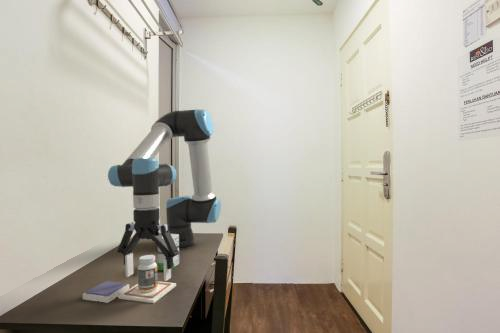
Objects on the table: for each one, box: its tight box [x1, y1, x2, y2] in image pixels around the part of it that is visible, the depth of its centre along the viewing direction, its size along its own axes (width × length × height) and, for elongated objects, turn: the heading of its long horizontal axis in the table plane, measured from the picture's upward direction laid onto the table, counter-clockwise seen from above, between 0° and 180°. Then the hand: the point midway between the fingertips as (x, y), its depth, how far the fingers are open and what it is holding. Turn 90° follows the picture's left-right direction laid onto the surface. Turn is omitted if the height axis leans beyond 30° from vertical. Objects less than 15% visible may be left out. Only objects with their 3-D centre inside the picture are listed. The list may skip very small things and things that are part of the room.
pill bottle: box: [137, 254, 158, 292], centre depth 89 cm, size 6×6×10 cm
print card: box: [117, 281, 177, 304], centre depth 89 cm, size 12×12×1 cm
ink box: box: [157, 234, 180, 271], centre depth 111 cm, size 9×5×12 cm, turn 168°
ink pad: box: [82, 280, 130, 304], centre depth 88 cm, size 9×9×2 cm
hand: (148, 277), depth 89 cm, fingers open, 13 cm apart
